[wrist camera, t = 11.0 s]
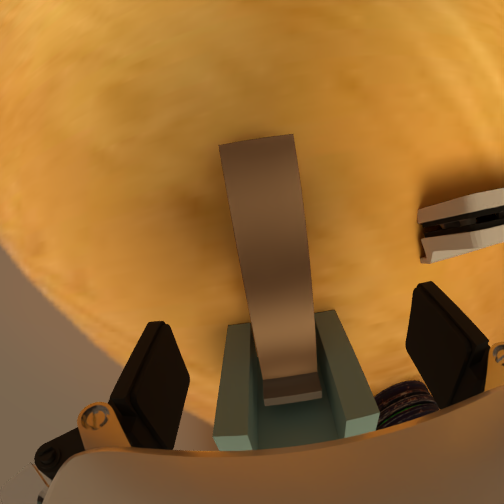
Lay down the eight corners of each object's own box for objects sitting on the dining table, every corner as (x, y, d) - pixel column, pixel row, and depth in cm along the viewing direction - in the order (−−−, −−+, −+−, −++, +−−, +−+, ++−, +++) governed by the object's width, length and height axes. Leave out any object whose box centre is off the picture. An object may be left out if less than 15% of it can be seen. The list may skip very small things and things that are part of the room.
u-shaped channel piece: (228, 325, 25) (210, 452, 13) (334, 309, 24) (386, 427, 12) (240, 373, 27) (233, 491, 14) (335, 360, 26) (371, 471, 14)
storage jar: (347, 409, 29) (376, 516, 15) (418, 366, 27) (475, 463, 13) (372, 438, 32) (399, 522, 18) (433, 402, 30) (474, 481, 16)
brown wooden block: (228, 148, 20) (213, 143, 13) (282, 139, 20) (298, 130, 12) (262, 341, 26) (265, 406, 18) (306, 334, 25) (322, 397, 18)
